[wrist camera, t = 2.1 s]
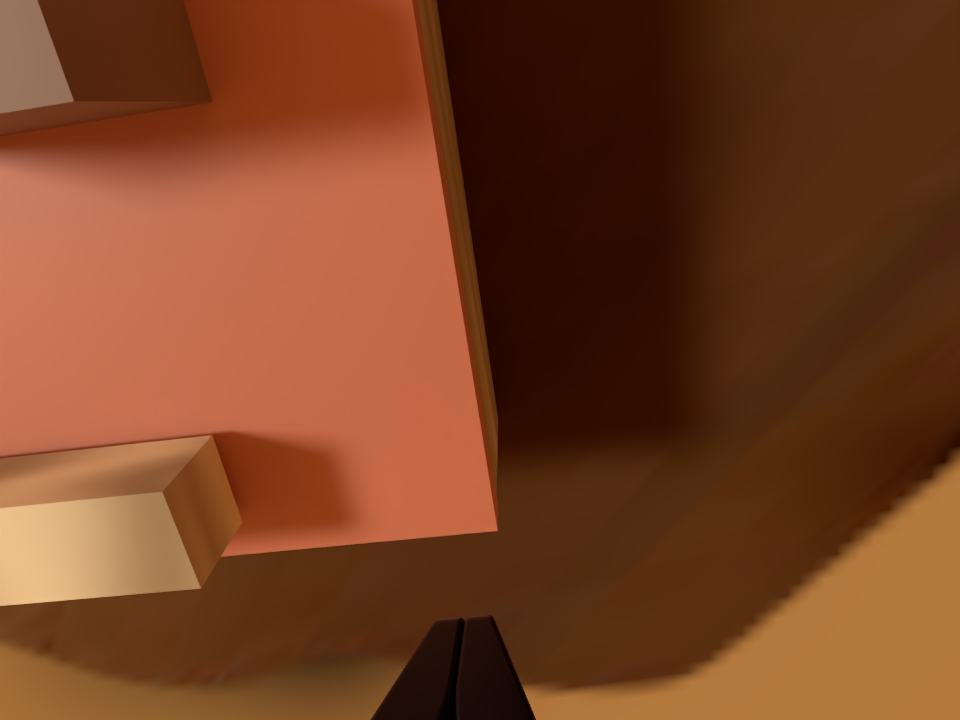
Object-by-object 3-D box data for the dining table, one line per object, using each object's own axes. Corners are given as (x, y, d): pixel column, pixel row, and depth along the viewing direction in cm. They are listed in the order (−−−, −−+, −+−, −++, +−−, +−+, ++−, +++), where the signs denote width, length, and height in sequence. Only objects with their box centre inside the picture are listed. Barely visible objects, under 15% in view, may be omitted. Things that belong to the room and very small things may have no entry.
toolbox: (425, -77, 15) (336, -278, 7) (500, 437, 21) (498, 650, 13) (-192, 35, 17) (-841, -28, 9) (30, 486, 22) (-241, 705, 14)
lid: (392, -163, 11) (306, -366, 6) (497, 506, 16) (495, 669, 11) (-316, -24, 12) (-835, -104, 7) (-1, 554, 17) (-187, 719, 13)
